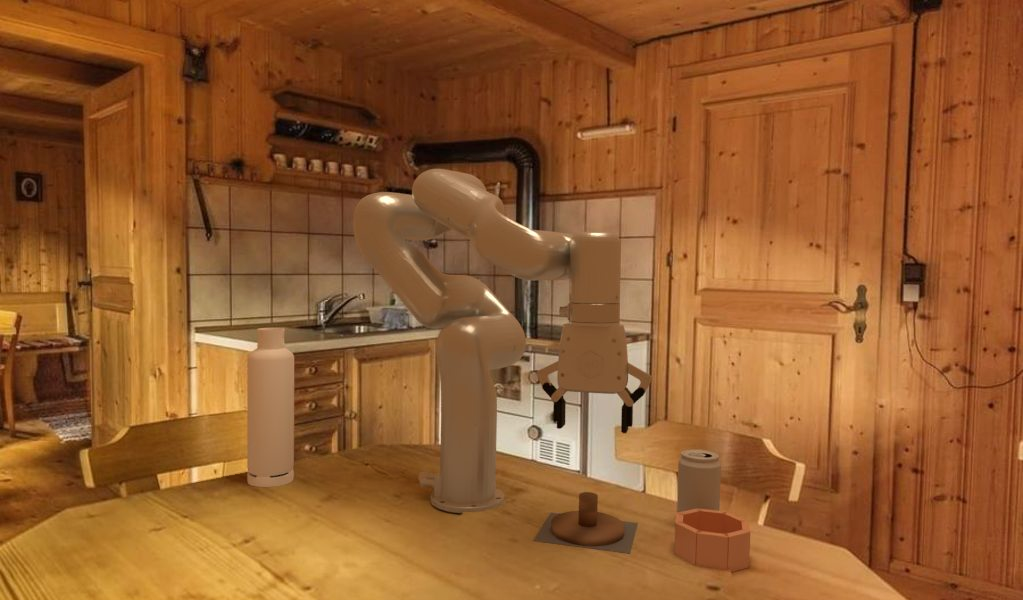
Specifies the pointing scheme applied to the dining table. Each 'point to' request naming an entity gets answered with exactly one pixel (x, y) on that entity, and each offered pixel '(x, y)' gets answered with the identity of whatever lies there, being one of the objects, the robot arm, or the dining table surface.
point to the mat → (620, 546)
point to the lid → (587, 524)
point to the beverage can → (698, 480)
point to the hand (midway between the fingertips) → (592, 429)
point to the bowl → (712, 539)
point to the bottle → (270, 411)
